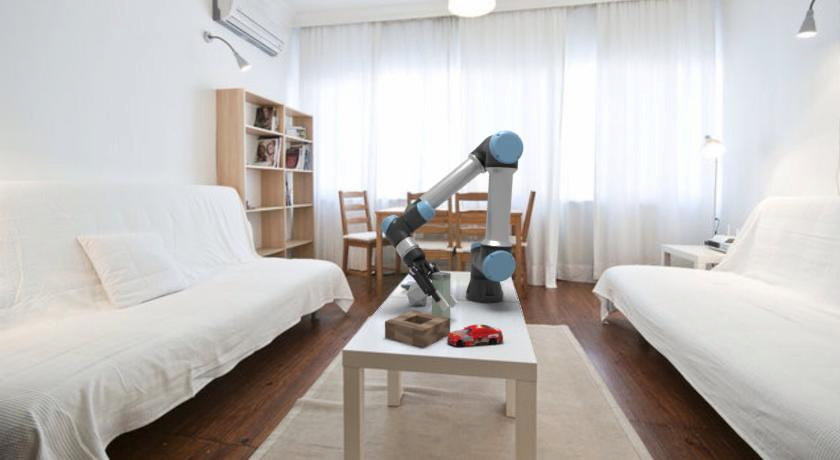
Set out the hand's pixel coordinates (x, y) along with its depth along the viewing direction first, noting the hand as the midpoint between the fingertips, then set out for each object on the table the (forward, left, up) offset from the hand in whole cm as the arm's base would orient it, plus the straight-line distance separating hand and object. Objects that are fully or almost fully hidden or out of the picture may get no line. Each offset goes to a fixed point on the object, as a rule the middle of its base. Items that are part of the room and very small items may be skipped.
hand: (450, 306), depth 139 cm
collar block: (+17, -1, -5) cm, 18 cm away
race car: (+11, +15, -6) cm, 20 cm away
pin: (0, -4, -5) cm, 6 cm away
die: (-11, -22, -5) cm, 25 cm away
